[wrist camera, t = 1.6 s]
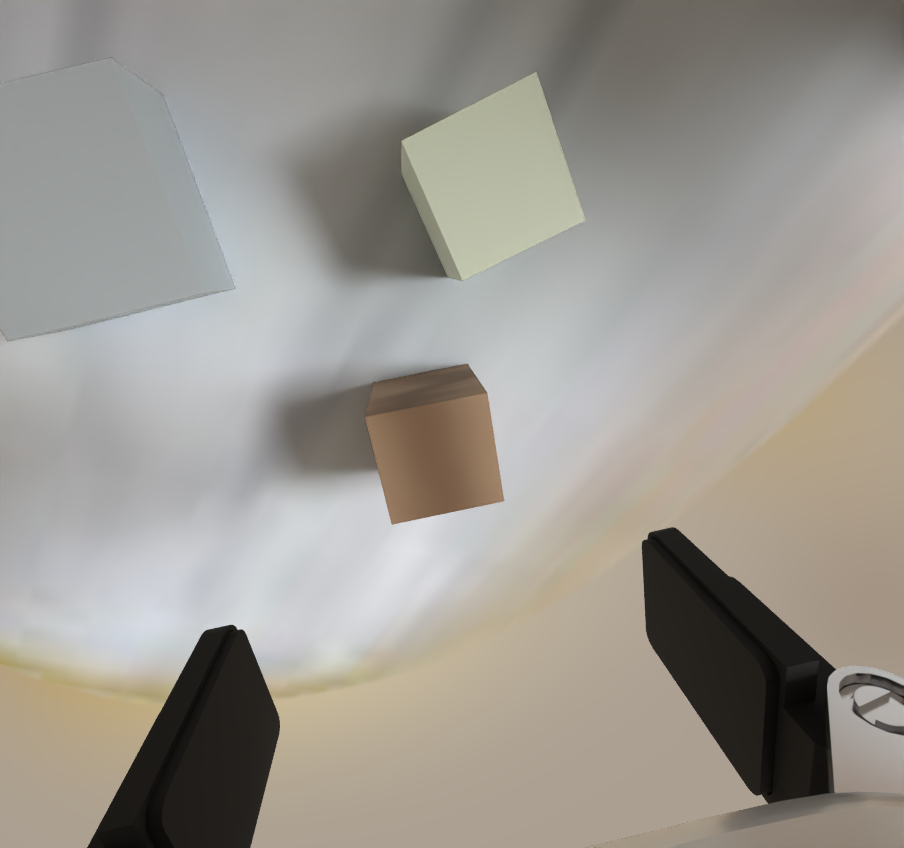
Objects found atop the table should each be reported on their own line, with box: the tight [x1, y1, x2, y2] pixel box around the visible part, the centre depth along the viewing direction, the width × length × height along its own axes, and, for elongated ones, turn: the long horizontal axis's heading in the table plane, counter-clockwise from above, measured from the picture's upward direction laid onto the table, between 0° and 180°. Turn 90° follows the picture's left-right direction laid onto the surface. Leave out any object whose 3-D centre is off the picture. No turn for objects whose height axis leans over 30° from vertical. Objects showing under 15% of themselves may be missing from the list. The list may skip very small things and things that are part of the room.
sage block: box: [401, 72, 585, 281], centre depth 19 cm, size 5×5×6 cm
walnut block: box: [365, 364, 504, 524], centre depth 22 cm, size 5×5×6 cm
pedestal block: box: [0, 57, 236, 342], centre depth 19 cm, size 8×8×4 cm
